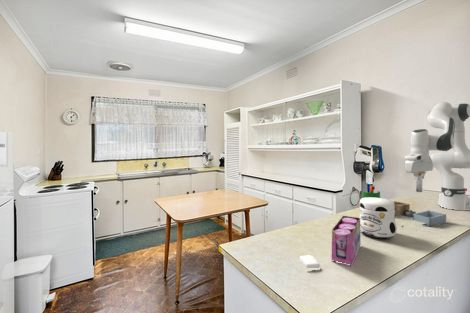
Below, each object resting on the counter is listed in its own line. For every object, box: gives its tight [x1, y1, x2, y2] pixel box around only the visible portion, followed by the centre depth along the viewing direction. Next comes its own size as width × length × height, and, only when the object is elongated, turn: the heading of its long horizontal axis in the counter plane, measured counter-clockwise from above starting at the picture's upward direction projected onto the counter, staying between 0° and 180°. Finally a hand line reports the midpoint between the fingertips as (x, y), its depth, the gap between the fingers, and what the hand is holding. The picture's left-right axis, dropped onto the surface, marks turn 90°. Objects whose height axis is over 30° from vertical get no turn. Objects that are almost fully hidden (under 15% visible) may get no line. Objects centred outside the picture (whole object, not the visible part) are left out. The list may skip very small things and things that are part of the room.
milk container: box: [358, 197, 398, 239], centre depth 122 cm, size 17×17×18 cm
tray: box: [412, 210, 447, 228], centre depth 136 cm, size 15×9×5 cm, turn 112°
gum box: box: [331, 215, 362, 265], centre depth 102 cm, size 24×8×14 cm, turn 143°
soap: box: [299, 254, 321, 268], centre depth 94 cm, size 9×7×3 cm
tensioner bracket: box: [393, 200, 417, 219], centre depth 149 cm, size 12×16×8 cm
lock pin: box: [415, 172, 423, 193], centre depth 140 cm, size 4×4×12 cm
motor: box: [361, 185, 381, 199], centre depth 153 cm, size 10×9×20 cm
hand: (419, 179), depth 140 cm, fingers closed on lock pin, 3 cm apart
